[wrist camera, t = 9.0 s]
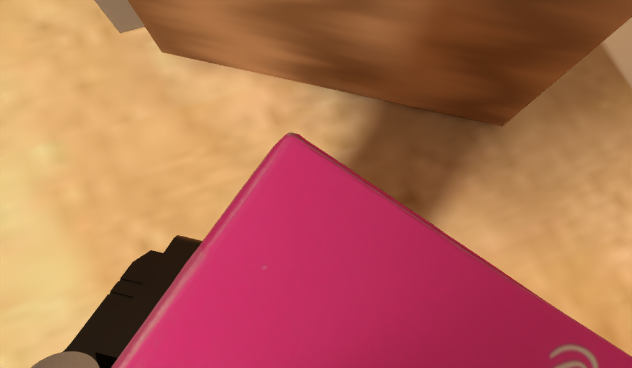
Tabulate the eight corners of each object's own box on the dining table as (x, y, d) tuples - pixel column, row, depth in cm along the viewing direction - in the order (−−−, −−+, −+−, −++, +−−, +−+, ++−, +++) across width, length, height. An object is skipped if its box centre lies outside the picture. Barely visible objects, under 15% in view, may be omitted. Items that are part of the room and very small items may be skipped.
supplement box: (345, 463, 15) (430, 959, 4) (205, 359, 16) (-52, 532, 5) (433, 315, 16) (693, 381, 5) (298, 224, 17) (266, 105, 6)
